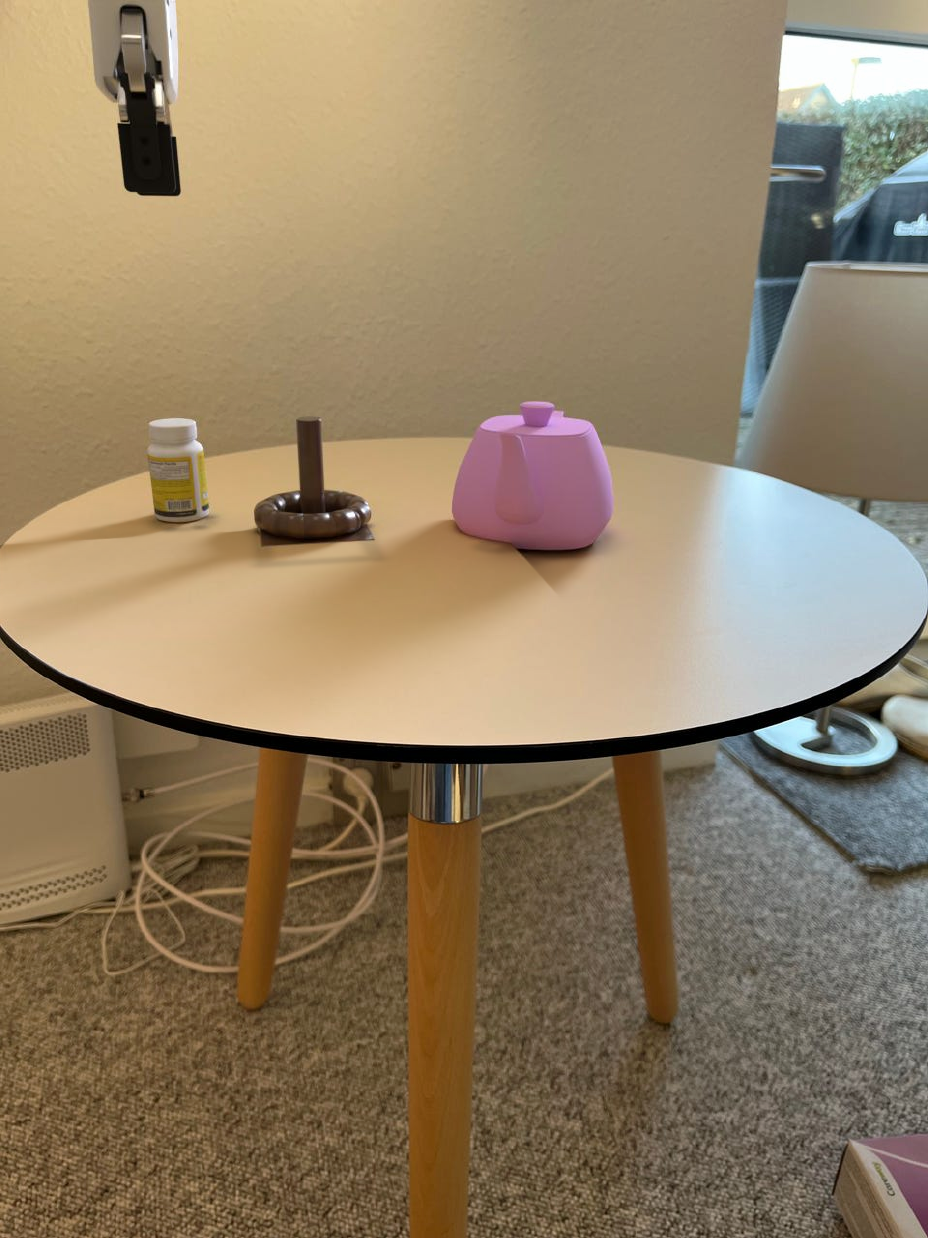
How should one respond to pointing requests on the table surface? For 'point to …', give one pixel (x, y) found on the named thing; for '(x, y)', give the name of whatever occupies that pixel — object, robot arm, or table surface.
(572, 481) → the teapot
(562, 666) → the table surface
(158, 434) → the supplement bottle
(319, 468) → the stand
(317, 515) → the ring
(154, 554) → the table surface
